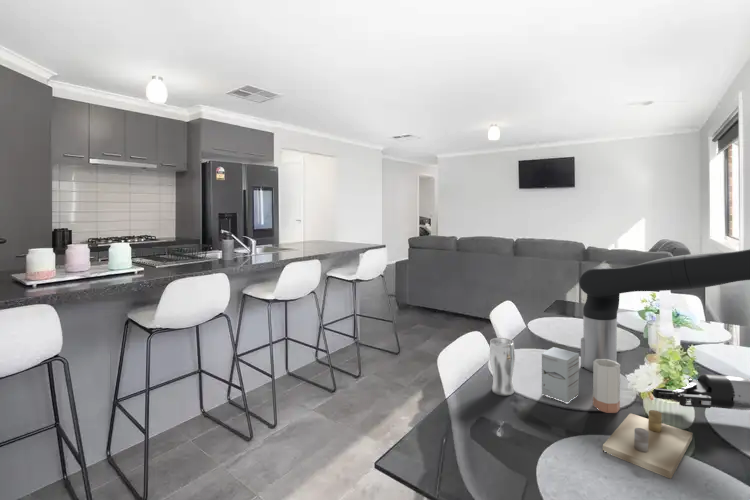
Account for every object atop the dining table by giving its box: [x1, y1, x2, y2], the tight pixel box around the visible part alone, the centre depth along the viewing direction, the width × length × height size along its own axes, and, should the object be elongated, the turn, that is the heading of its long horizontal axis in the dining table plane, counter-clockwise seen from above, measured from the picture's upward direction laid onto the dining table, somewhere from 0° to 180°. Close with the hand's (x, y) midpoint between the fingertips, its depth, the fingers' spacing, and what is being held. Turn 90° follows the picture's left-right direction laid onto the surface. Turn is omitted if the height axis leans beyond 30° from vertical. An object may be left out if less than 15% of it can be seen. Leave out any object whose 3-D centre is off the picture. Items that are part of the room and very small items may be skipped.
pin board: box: [602, 409, 693, 480], centre depth 84 cm, size 12×18×6 cm, turn 130°
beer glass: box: [489, 337, 516, 397], centre depth 112 cm, size 7×7×15 cm
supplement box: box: [541, 346, 580, 402], centre depth 107 cm, size 7×7×13 cm
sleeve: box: [592, 359, 621, 414], centre depth 100 cm, size 6×6×12 cm
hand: (647, 385), depth 97 cm, fingers open, 8 cm apart
